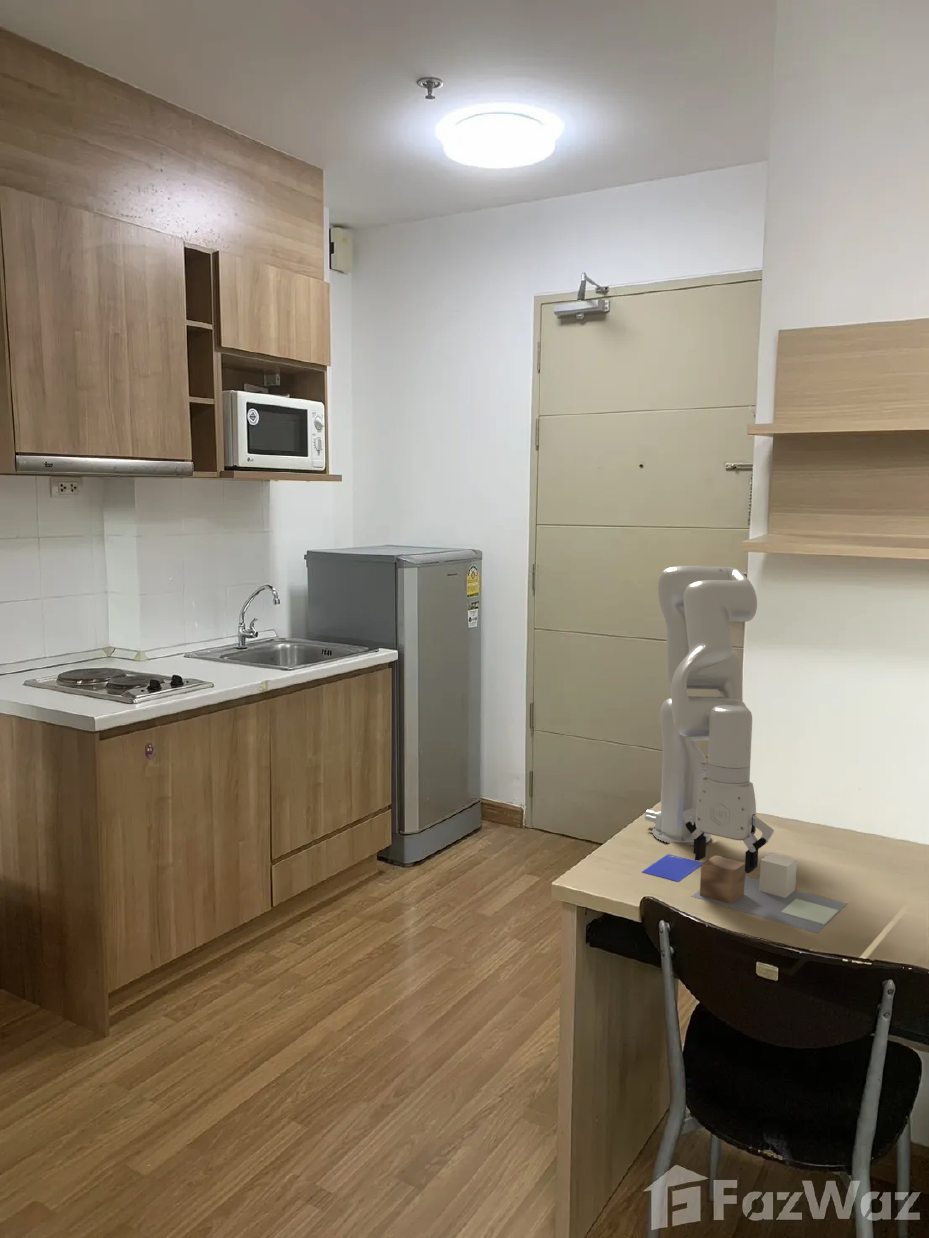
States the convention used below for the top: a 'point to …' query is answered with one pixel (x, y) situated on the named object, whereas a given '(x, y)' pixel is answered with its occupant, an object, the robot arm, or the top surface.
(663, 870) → the blue square mat
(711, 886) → the walnut block
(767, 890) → the cream block
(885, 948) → the top surface
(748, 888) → the board
